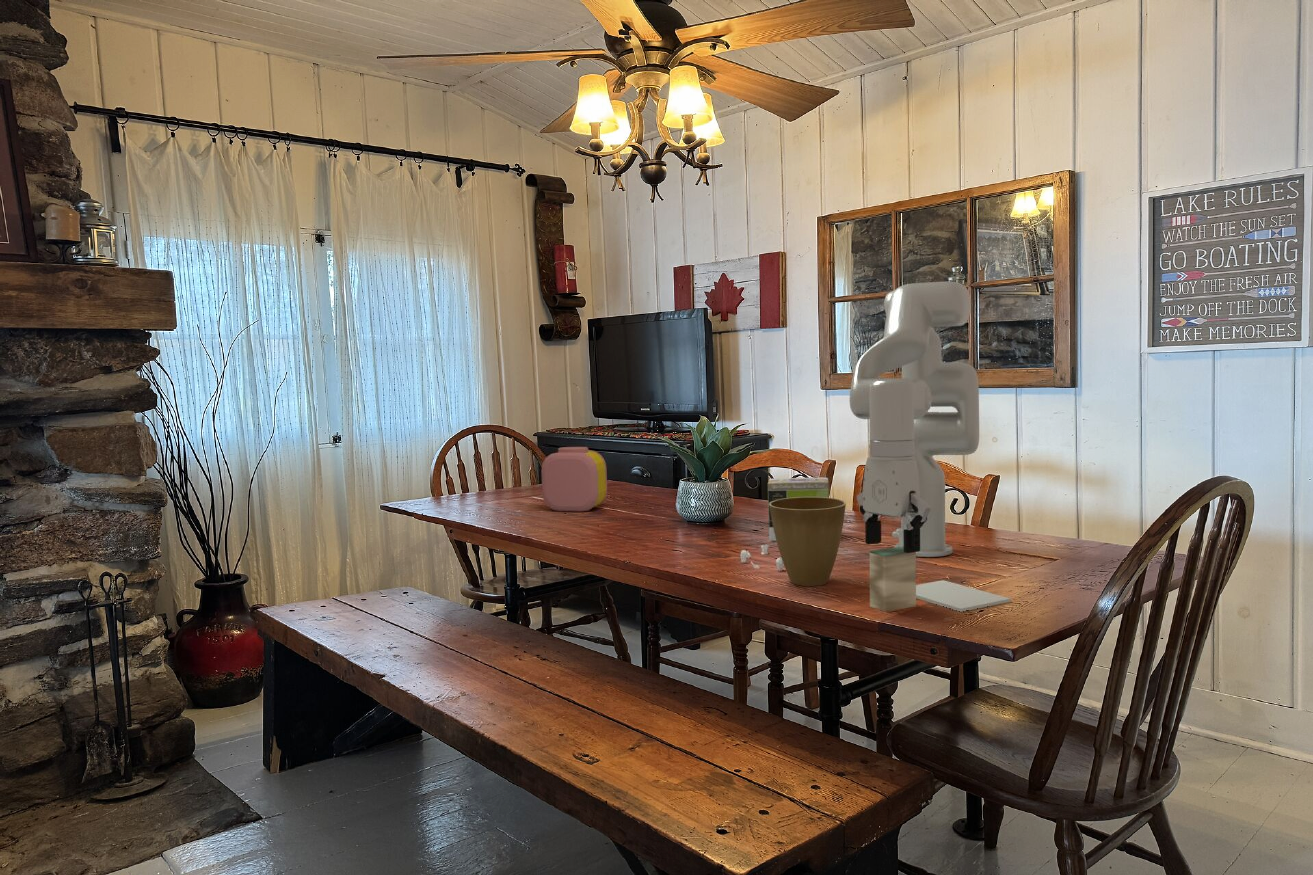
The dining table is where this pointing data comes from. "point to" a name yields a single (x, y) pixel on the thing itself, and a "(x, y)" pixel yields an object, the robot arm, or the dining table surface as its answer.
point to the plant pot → (808, 536)
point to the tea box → (794, 492)
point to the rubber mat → (957, 596)
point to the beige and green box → (892, 579)
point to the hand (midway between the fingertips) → (892, 547)
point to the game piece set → (764, 551)
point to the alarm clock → (574, 479)
